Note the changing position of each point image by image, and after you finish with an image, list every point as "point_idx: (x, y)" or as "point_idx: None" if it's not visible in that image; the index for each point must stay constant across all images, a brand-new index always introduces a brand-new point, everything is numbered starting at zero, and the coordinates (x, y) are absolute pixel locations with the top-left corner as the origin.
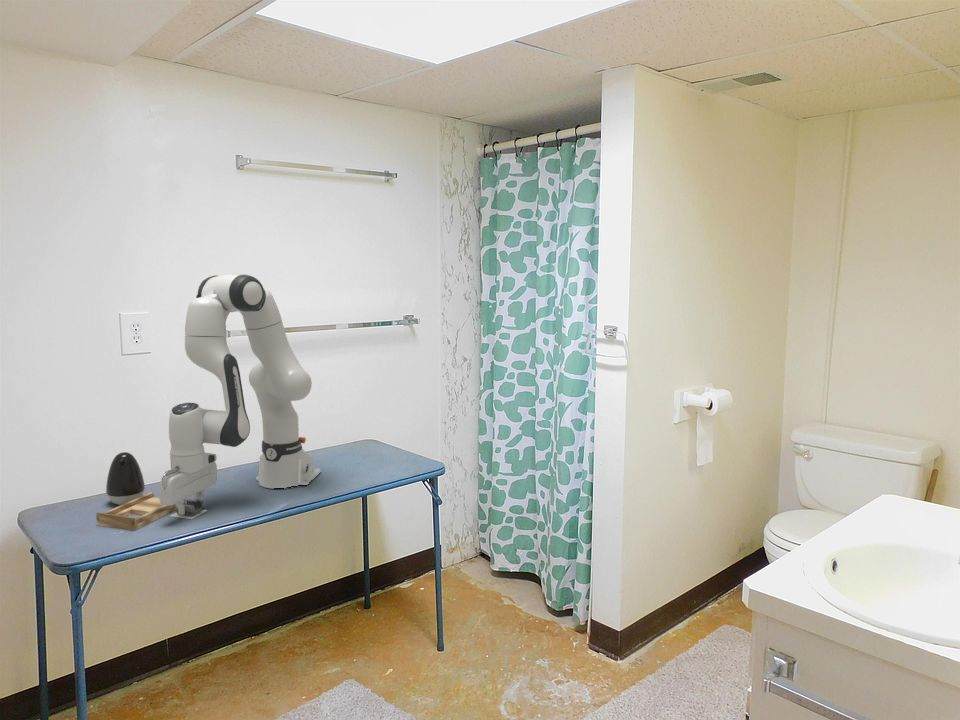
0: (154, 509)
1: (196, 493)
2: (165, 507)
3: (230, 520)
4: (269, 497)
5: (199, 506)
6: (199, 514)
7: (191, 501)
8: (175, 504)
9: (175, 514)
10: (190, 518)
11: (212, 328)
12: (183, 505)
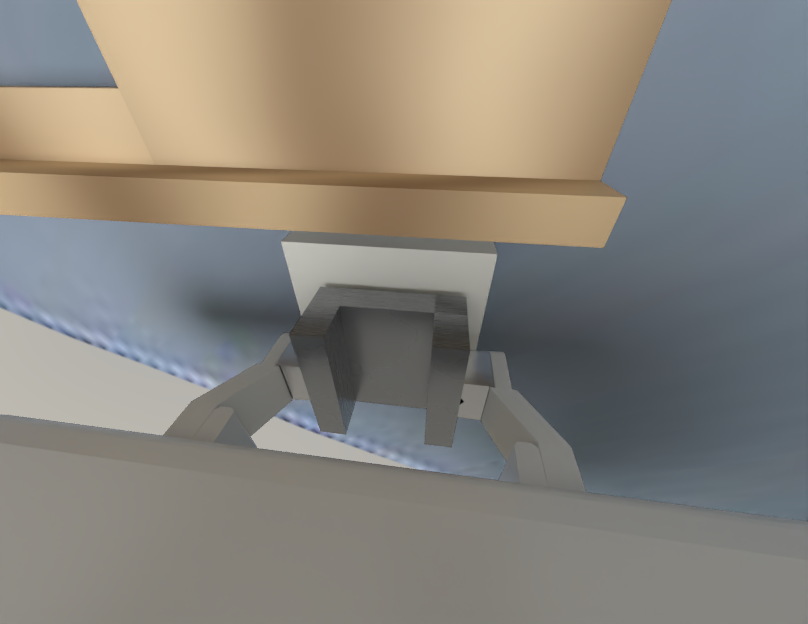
0: (180, 30)
1: (528, 434)
2: (234, 221)
3: (419, 454)
4: (739, 491)
5: (427, 401)
6: None
7: (429, 384)
8: (207, 396)
9: (325, 264)
10: None
11: None
12: (262, 423)
